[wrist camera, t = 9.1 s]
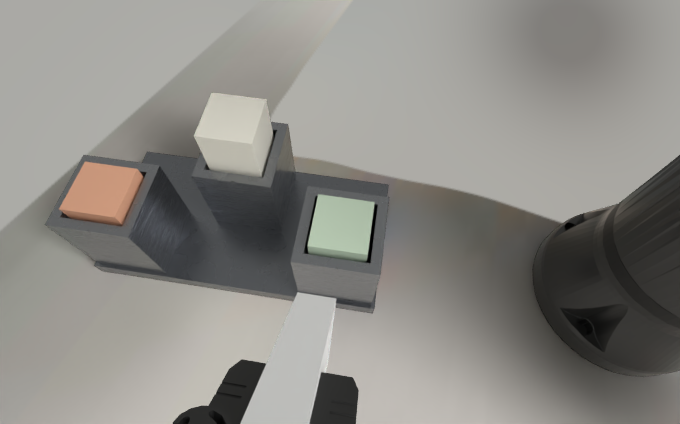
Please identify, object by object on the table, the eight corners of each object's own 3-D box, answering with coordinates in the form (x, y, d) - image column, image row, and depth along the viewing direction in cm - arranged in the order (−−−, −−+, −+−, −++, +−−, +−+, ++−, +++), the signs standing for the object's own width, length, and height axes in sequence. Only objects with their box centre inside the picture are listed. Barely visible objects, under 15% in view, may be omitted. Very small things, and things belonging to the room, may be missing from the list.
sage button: (366, 246, 39) (374, 202, 31) (360, 290, 37) (367, 254, 29) (321, 239, 39) (318, 194, 31) (312, 283, 37) (307, 245, 29)
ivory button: (279, 162, 39) (266, 99, 32) (268, 201, 37) (251, 143, 30) (234, 156, 40) (211, 92, 32) (221, 194, 37) (193, 136, 30)
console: (386, 192, 44) (399, 135, 35) (372, 313, 38) (383, 279, 29) (152, 159, 45) (111, 98, 37) (102, 271, 39) (39, 227, 31)
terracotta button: (174, 217, 40) (137, 168, 32) (158, 259, 38) (114, 217, 30) (131, 211, 40) (84, 161, 33) (113, 252, 38) (58, 209, 31)
